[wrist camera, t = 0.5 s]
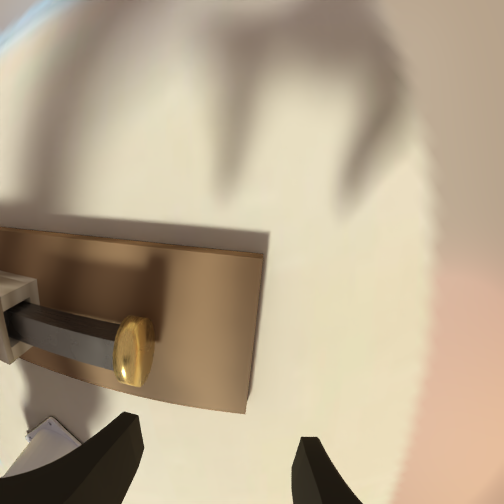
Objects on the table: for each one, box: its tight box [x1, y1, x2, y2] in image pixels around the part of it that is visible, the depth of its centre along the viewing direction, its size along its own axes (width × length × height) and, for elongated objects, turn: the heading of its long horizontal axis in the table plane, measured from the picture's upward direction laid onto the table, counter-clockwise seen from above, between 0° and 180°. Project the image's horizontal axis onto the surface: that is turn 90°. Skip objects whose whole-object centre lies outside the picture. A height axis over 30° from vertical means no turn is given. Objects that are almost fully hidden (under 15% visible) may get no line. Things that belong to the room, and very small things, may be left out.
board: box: [0, 227, 263, 414], centre depth 16 cm, size 25×11×6 cm, turn 85°
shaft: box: [3, 301, 155, 387], centre depth 16 cm, size 12×4×4 cm, turn 85°
